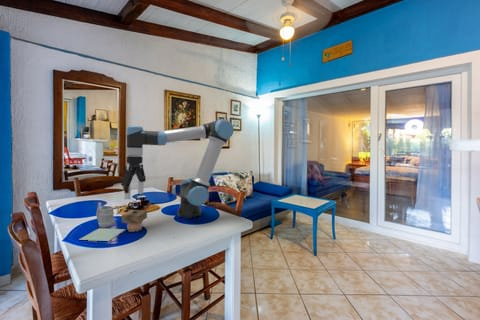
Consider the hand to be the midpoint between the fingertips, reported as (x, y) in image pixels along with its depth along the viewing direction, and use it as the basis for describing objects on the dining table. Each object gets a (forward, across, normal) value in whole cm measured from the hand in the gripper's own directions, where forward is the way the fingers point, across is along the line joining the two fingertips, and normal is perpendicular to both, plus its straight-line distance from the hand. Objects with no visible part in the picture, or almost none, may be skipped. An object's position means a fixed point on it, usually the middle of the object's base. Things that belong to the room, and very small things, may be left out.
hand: (134, 196), depth 116 cm
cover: (+13, 0, 0) cm, 13 cm away
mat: (+18, +9, -11) cm, 23 cm away
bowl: (+18, 0, 0) cm, 18 cm away
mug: (+18, -5, -20) cm, 27 cm away
